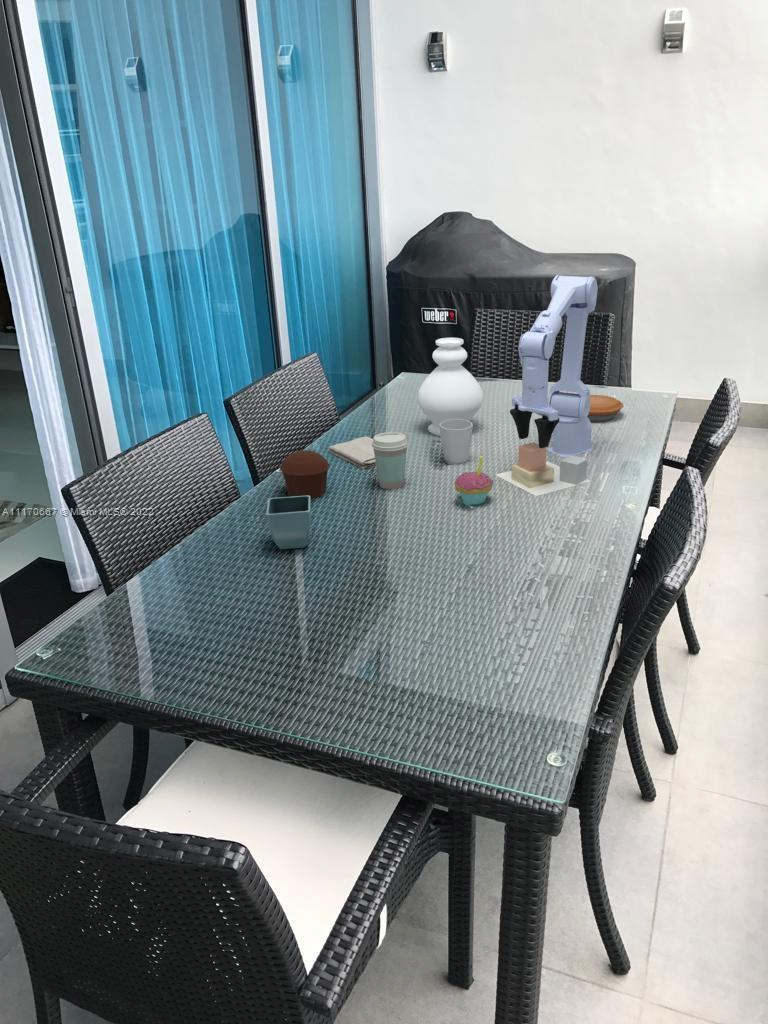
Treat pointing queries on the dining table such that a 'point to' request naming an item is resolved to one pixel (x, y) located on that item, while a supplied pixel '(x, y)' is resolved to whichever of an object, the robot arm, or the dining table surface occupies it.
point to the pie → (603, 408)
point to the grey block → (573, 469)
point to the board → (546, 487)
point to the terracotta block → (532, 457)
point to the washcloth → (356, 452)
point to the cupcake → (474, 486)
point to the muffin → (305, 473)
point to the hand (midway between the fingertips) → (533, 442)
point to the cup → (456, 440)
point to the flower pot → (289, 521)
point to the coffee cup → (390, 458)
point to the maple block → (532, 476)
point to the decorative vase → (449, 387)
